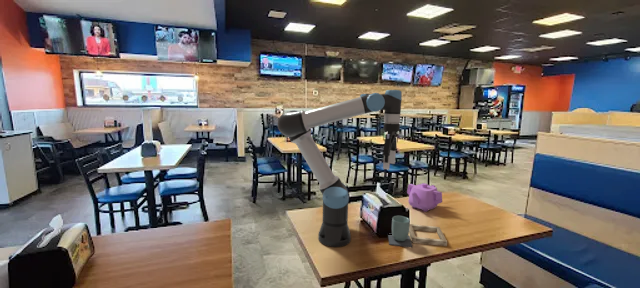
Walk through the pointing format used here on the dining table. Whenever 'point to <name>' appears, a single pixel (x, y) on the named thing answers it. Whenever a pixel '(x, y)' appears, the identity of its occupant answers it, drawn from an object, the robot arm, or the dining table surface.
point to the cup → (400, 228)
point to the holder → (440, 242)
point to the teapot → (424, 196)
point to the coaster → (400, 242)
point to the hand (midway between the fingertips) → (389, 166)
